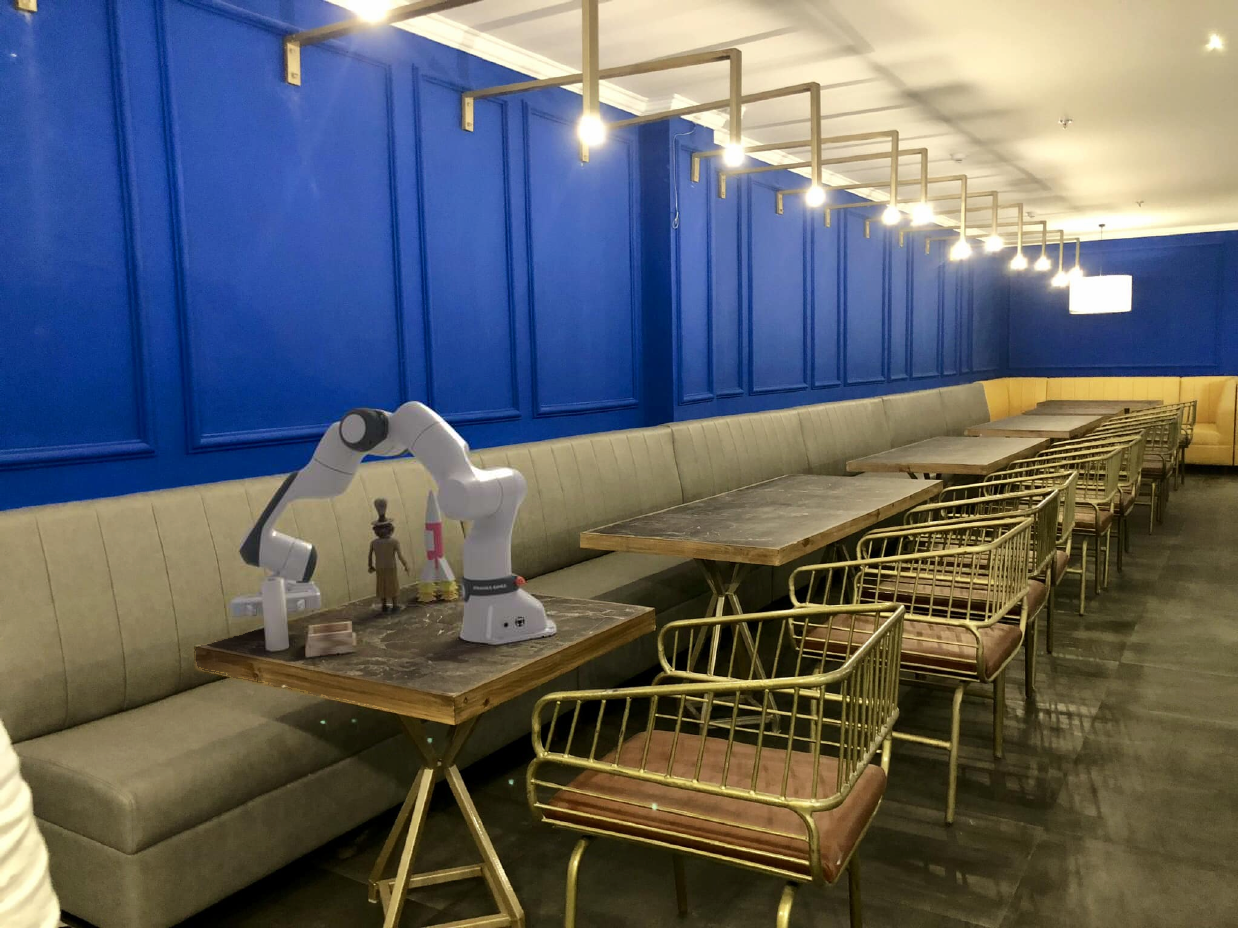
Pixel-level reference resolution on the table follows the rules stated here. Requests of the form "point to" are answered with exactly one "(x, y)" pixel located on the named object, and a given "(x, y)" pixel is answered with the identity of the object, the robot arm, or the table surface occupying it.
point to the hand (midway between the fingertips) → (274, 610)
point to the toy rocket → (435, 557)
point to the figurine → (386, 559)
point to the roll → (274, 614)
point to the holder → (330, 639)
